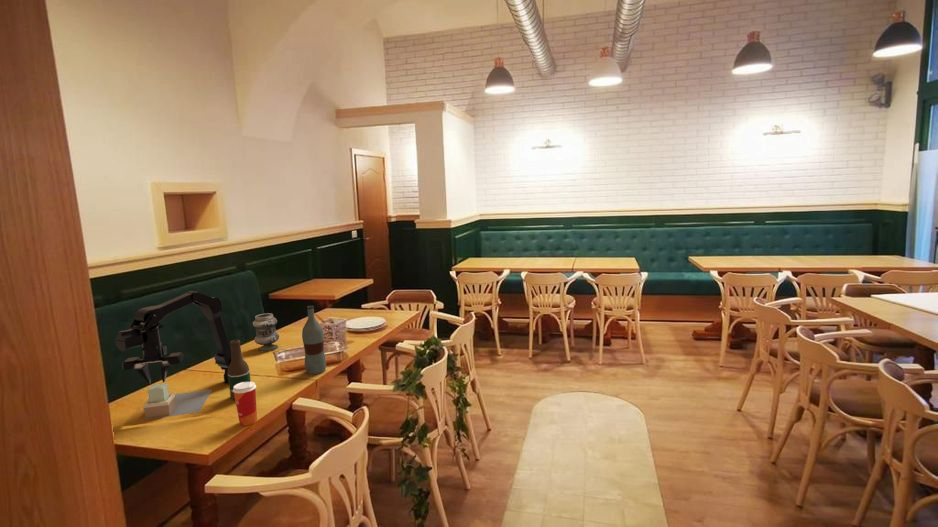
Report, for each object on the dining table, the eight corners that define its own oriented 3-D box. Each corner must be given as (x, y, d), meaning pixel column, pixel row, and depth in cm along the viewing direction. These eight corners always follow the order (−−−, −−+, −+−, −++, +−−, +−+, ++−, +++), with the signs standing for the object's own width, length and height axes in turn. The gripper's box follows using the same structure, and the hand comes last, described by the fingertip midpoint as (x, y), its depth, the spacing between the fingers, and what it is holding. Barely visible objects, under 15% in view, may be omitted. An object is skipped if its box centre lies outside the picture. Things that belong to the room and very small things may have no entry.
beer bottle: (256, 395, 201) (250, 338, 197) (242, 404, 194) (235, 344, 190) (241, 393, 204) (234, 337, 200) (226, 401, 196) (219, 343, 193)
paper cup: (241, 418, 182) (236, 381, 180) (262, 416, 182) (258, 380, 180) (233, 428, 174) (228, 390, 172) (255, 426, 175) (251, 388, 172)
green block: (169, 398, 190) (167, 383, 189) (165, 403, 185) (163, 388, 184) (154, 400, 188) (152, 385, 187) (150, 405, 184) (147, 390, 183)
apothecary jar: (263, 344, 267) (259, 312, 264) (284, 344, 265) (281, 312, 263) (250, 352, 255) (246, 318, 252) (272, 352, 254) (269, 318, 251)
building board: (213, 391, 207) (211, 377, 206) (199, 414, 186) (197, 398, 185) (164, 397, 203) (162, 383, 202) (144, 422, 182) (142, 406, 181)
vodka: (330, 367, 229) (325, 304, 224) (320, 375, 220) (314, 309, 215) (312, 366, 231) (306, 303, 226) (301, 374, 222) (294, 308, 218)
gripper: (185, 333, 193) (190, 371, 195) (130, 338, 188) (136, 378, 191) (176, 341, 182) (182, 382, 185) (118, 348, 178) (125, 389, 180)
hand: (157, 382), depth 185 cm, fingers open, 4 cm apart
